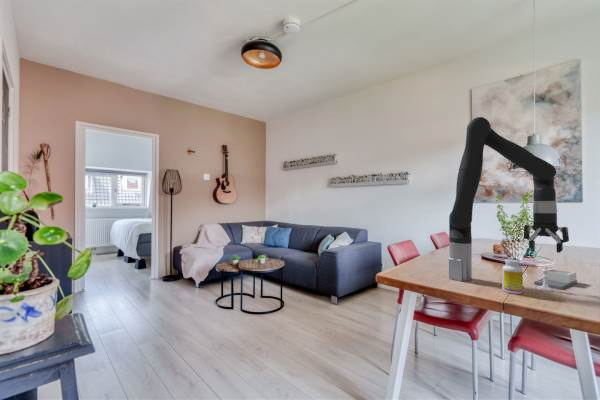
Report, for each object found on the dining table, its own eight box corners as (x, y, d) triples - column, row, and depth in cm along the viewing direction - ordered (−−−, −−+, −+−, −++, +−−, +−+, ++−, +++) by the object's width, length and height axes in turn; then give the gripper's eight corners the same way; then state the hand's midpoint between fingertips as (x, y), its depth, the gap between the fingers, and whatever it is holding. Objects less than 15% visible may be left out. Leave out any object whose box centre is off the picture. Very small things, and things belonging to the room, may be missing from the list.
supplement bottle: (525, 295, 112) (525, 262, 112) (505, 293, 114) (505, 261, 114) (519, 290, 118) (518, 259, 118) (500, 288, 120) (499, 258, 120)
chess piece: (534, 288, 121) (534, 264, 121) (545, 287, 121) (545, 264, 121) (545, 291, 116) (545, 267, 116) (556, 291, 116) (556, 266, 117)
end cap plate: (560, 289, 118) (560, 278, 118) (534, 284, 126) (534, 273, 126) (576, 282, 129) (576, 272, 129) (551, 278, 137) (551, 268, 137)
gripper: (520, 211, 123) (521, 249, 123) (564, 212, 111) (564, 254, 111) (527, 211, 127) (528, 247, 127) (570, 212, 115) (571, 252, 115)
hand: (545, 250), depth 119 cm, fingers open, 8 cm apart
